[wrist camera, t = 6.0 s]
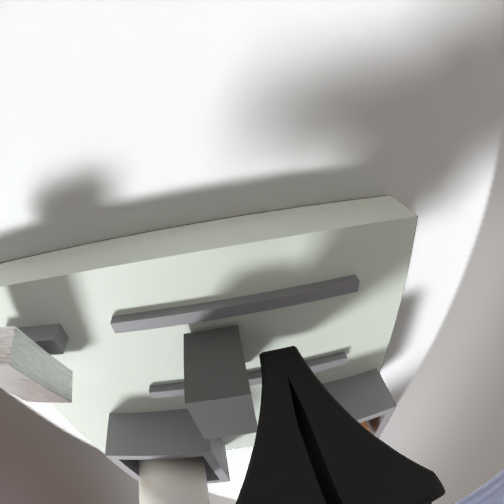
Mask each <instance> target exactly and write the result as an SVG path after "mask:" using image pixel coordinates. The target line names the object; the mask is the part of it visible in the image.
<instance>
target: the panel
mask: <svg viewBox="0 0 504 504" xmlns="http://www.w3.org/2000/svg"><path fill="white" fill-rule="evenodd" d="M417 218H418V216H417V215H416V214H415V213H413V212H412V211H411V210H410V209H408V208H407V207H406V206H404V205H403V204H402V203H400V202H399V201H398V200H396V199H395V198H394V197H392V196H391V195H390V196H381V197H373V198H365V199H357V200H349V201H341V202H334V203H326V204H319V205H312V206H304V207H297V208H290V209H284V210H277V211H270V212H264V213H257V214H251V215H244V216H238V217H232V218H226V219H220V220H214V221H208V222H202V223H196V224H190V225H185V226H179V227H173V228H168V229H162V230H157V231H152V232H146V233H141V234H136V235H130V236H125V237H120V238H115V239H110V240H105V241H100V242H95V243H90V244H85V245H81V246H76V247H71V248H66V249H62V250H57V251H53V252H48V253H44V254H39V255H35V256H30V257H26V258H22V259H17V260H13V261H9V262H5V263H0V327H7V326H16V327H18V328H19V329H20V330H21V331H22V332H23V333H24V334H26V335H27V336H28V337H29V338H30V339H31V340H33V341H34V342H35V343H36V344H38V345H39V346H40V347H41V348H42V349H44V350H45V351H46V352H48V353H49V354H50V355H51V356H53V357H54V358H55V359H57V360H58V361H59V362H61V363H62V364H63V365H65V366H66V367H67V368H69V369H70V370H72V371H73V381H72V403H52V402H51V403H52V404H53V405H54V407H55V408H56V409H57V410H58V411H59V412H60V413H61V414H62V415H63V416H64V417H65V418H66V419H67V420H68V421H69V422H70V423H71V424H72V425H73V426H74V427H75V428H76V429H77V430H78V431H79V432H80V433H82V434H83V435H84V436H85V437H86V438H87V439H88V440H89V441H90V442H91V443H93V444H94V445H95V446H96V447H97V448H98V449H99V450H101V451H102V452H103V453H104V454H105V456H106V457H108V458H109V459H110V460H111V461H112V462H114V463H115V464H116V465H117V466H119V467H120V468H121V469H122V470H124V471H125V472H126V473H128V474H129V475H130V476H132V477H133V478H134V479H136V480H137V481H139V460H145V459H173V458H188V457H196V458H199V459H201V460H202V461H203V462H204V463H205V469H206V478H207V483H217V482H226V481H230V478H229V472H228V465H227V458H226V451H225V450H230V449H237V448H243V447H250V446H254V443H255V438H256V433H250V434H244V435H237V436H231V437H224V438H216V439H207V440H205V439H204V438H203V436H202V434H201V432H200V431H199V429H198V427H197V425H196V423H195V422H194V420H193V418H192V416H191V414H190V412H189V410H188V409H187V407H186V405H185V396H184V334H186V333H192V332H199V331H206V330H212V329H218V328H224V327H230V326H236V325H238V328H239V333H240V339H241V344H242V349H243V355H244V360H245V365H246V370H247V375H248V380H249V385H250V391H251V396H252V401H253V406H254V411H255V416H256V421H257V426H258V420H259V413H260V405H261V391H262V373H261V365H260V357H259V354H261V353H262V352H265V351H271V350H276V349H281V348H286V347H290V346H295V347H297V349H298V351H299V352H300V354H301V356H302V357H303V359H304V360H305V362H306V363H307V365H308V366H309V367H310V369H311V370H312V371H313V373H314V374H315V376H316V377H317V378H318V379H319V381H320V382H321V383H322V384H323V385H324V387H325V388H326V389H327V390H328V391H329V393H330V394H331V395H332V396H333V397H334V398H335V399H336V400H337V401H338V403H339V404H340V405H341V406H342V407H343V408H344V409H345V410H346V411H347V412H348V413H349V414H350V415H351V416H352V417H353V418H355V419H356V420H357V421H358V422H359V423H361V422H364V421H366V422H367V424H368V427H369V429H370V431H371V433H372V434H373V435H374V436H376V437H377V438H379V437H380V435H381V433H382V431H383V430H384V428H385V426H386V424H387V423H388V421H389V419H390V417H391V415H392V413H393V412H394V410H395V408H396V404H395V402H394V400H393V398H392V396H391V394H390V392H389V390H388V389H387V387H386V385H385V383H384V381H383V379H382V377H381V375H380V370H381V367H382V364H383V361H384V358H385V355H386V352H387V348H388V345H389V342H390V339H391V335H392V332H393V328H394V325H395V321H396V318H397V314H398V310H399V306H400V302H401V298H402V294H403V290H404V286H405V281H406V277H407V272H408V268H409V263H410V258H411V253H412V248H413V242H414V237H415V231H416V225H417Z"/></svg>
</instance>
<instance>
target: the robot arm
mask: <svg viewBox="0 0 504 504" xmlns="http://www.w3.org/2000/svg"><path fill="white" fill-rule="evenodd" d="M259 357H260V365H261V373H262V391H261V405H260V413H259V420H258V427H257V432H256V438H255V443H254V447H253V451H252V455H251V459H250V463H249V466H248V470H247V473H246V477H245V480H244V483H243V486H242V488H241V491H240V494H239V497H238V499H237V502H236V504H431V502H433V501H434V500H436V499H437V498H439V497H441V496H443V495H444V493H445V490H444V487H443V485H442V483H441V482H440V480H439V479H438V477H437V476H436V474H435V473H434V472H433V471H431V470H428V469H427V468H425V467H423V466H420V465H419V464H417V463H415V462H413V461H412V460H410V459H408V458H406V457H405V456H403V455H402V454H400V453H398V452H397V451H395V450H394V449H392V448H391V447H390V446H388V445H387V444H385V443H384V442H383V441H381V440H380V439H378V438H377V437H376V436H374V435H373V434H372V433H371V432H370V431H368V430H367V429H366V428H365V427H364V426H362V425H361V424H360V423H359V422H358V421H357V420H356V419H355V418H353V417H352V416H351V415H350V414H349V413H348V412H347V411H346V410H345V409H344V408H343V407H342V406H341V405H340V404H339V403H338V401H337V400H336V399H335V398H334V397H333V396H332V395H331V394H330V393H329V391H328V390H327V389H326V388H325V387H324V385H323V384H322V383H321V382H320V381H319V379H318V378H317V377H316V376H315V374H314V373H313V371H312V370H311V369H310V367H309V366H308V365H307V363H306V362H305V360H304V359H303V357H302V356H301V354H300V352H299V351H298V349H297V347H295V346H290V347H286V348H281V349H276V350H271V351H265V352H262V353H261V354H259ZM454 504H504V469H503V470H501V471H500V472H499V473H497V474H496V476H495V477H493V478H492V479H491V480H489V481H488V482H486V483H485V484H484V485H482V486H481V487H479V488H478V489H476V490H475V491H473V492H472V493H470V494H469V495H467V496H465V497H464V498H462V499H461V500H459V501H458V502H456V503H454Z"/></svg>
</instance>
